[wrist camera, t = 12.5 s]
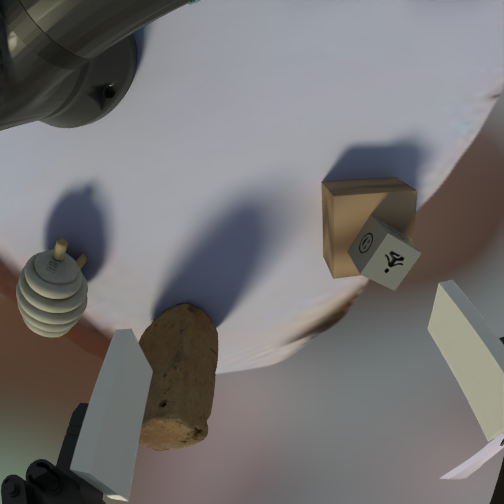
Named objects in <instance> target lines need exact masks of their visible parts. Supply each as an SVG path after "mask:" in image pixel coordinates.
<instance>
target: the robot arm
mask: <svg viewBox="0 0 504 504" xmlns="http://www.w3.org/2000/svg"><path fill="white" fill-rule="evenodd" d="M198 1H200V0H0V131H1V130H4V129H8V128H11V127H15V126H18V125H22V124H26V123H30V122H34V121H41V122H44V123H46V124H49V125H51V126H54V127H59V128H74V127H79V126H83V125H87V124H90V123H93V122H95V121H97V120H99V119H101V118H103V117H104V116H105V115H107V114H108V113H109V112H111V111H112V110H113V109H114V108H115V107H116V106H117V105H118V103H119V102H120V101H121V100H122V98H123V97H124V95H125V94H126V92H127V90H128V89H129V87H130V84H131V82H132V79H133V77H134V73H135V69H136V62H137V49H136V43H135V39H134V36H133V34H132V33H133V32H135V31H137V30H139V29H140V28H142V27H144V26H145V25H147V24H149V23H151V22H153V21H154V20H156V19H158V18H160V17H162V16H164V15H166V14H167V13H169V12H171V11H173V10H175V9H177V8H179V7H181V6H183V5H186V4H190V5H191V4H195V3H197V2H198ZM428 331H429V333H430V334H431V336H432V338H433V339H434V341H435V343H436V344H437V346H438V348H439V349H440V351H441V353H442V355H443V356H444V358H445V360H446V361H447V363H448V365H449V367H450V369H451V370H452V372H453V374H454V376H455V377H456V379H457V381H458V383H459V385H460V386H461V388H462V390H463V392H464V394H465V396H466V398H467V400H468V402H469V404H470V406H471V408H472V410H473V411H474V413H475V416H476V418H477V420H478V422H479V424H480V426H481V428H482V430H483V432H484V434H485V436H486V438H487V441H490V440H492V439H494V438H496V437H497V436H499V435H501V434H503V432H504V337H502V338H498V336H497V335H496V334H495V332H494V331H493V330H492V328H491V327H490V326H489V324H488V323H487V322H486V320H485V319H484V318H483V317H482V315H481V314H480V313H479V312H478V310H477V309H476V308H475V306H474V305H473V304H472V303H471V302H470V300H469V299H468V298H467V297H466V295H465V294H464V293H463V292H462V291H461V289H460V288H459V287H458V286H457V285H456V283H455V282H454V281H453V280H449V281H445V282H440V283H439V284H438V289H437V293H436V298H435V302H434V306H433V310H432V314H431V318H430V322H429V326H428ZM152 373H153V370H152V368H151V366H150V365H149V363H148V361H147V359H146V357H145V355H144V353H143V351H142V349H141V347H140V345H139V343H138V341H137V339H136V337H135V335H134V333H133V331H132V329H122V330H116V331H115V333H114V336H113V338H112V341H111V343H110V346H109V349H108V351H107V354H106V357H105V359H104V362H103V365H102V368H101V370H100V373H99V376H98V379H97V382H96V385H95V388H94V391H93V393H92V396H91V399H90V402H89V404H87V403H80V404H79V405H78V407H77V408H76V410H75V411H74V412H73V414H72V417H71V419H70V422H69V427H68V429H67V432H66V435H65V438H64V441H63V445H62V448H61V451H60V454H59V458H58V461H57V465H56V467H55V466H54V465H53V464H52V463H50V462H49V461H47V460H44V459H39V460H36V461H34V462H33V463H31V464H30V466H29V467H28V469H27V472H26V481H25V480H23V479H22V478H21V477H19V476H17V475H9V476H7V477H6V479H4V481H3V483H2V487H1V495H2V504H106V503H105V502H104V501H103V500H102V498H103V494H105V495H107V496H108V497H110V498H111V499H117V500H124V501H129V498H130V491H131V484H132V478H133V471H134V465H135V460H136V454H137V448H138V443H139V437H140V432H141V426H142V421H143V416H144V411H145V406H146V401H147V397H148V392H149V387H150V382H151V378H152ZM503 445H504V439H503V441H502V442H501V445H500V446H503ZM490 504H504V458H503V462H502V466H501V470H500V473H499V477H498V480H497V483H496V487H495V490H494V493H493V496H492V499H491V502H490Z"/></svg>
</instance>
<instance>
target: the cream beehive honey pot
mask: <svg viewBox="0 0 504 504" xmlns="http://www.w3.org/2000/svg"><path fill="white" fill-rule="evenodd" d="M66 249H67V241H66V240H65V239H63V238H60V239H58V240H57V242H56V245H55V246H54V248H53V249H52V250H48V251H44V252H41V253H38V254H36V255H34V256H32V257H31V258H30V259H29V260H28V262H27V263H26V266H25V267H24V268H23V269H22V271H21V273H20V277H19V281H18V283H17V288H16V294H17V299H18V307H19V310H20V312H21V314H22V316H23V319H24V321H25V323H26V325H27V326H28V327H29V328H30V329H31V330H32V331H34V332H35V333H37V334H39V335H41V336H45V337H58V338H59V337H61V335H64V334H65V333H67V332H68V331H69V330H70V329H71V327H72V326H74V325H75V324H76V323H77V322H78V320H79V319H80V316H81V314H82V313H83V312H84V310H85V309H86V306H87V292H88V285H87V281H86V279H85V277H84V275H83V274H82V272H81V270H80V269H81V268H82V267H83V265H84V264H85V263H86V262H87V257H86V256H85V255H80V256H79V258H78V259H77V260H76V261H75V260H74V259H73V258H72V257H71V256H69V255H68V254H66V253H65V252H66Z"/></svg>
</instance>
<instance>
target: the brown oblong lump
mask: <svg viewBox="0 0 504 504" xmlns="http://www.w3.org/2000/svg"><path fill="white" fill-rule="evenodd" d="M139 345H140V347H141V349H142V351H143V353H144V355H145V357H146V359H147V361H148V363H149V365H150V366H151V368H152V370H153V373H152V378H151V382H150V387H149V392H148V397H147V401H146V406H145V411H144V416H143V421H142V426H141V432H140V437H139V443H141V444H143V445H145V446H147V447H149V448H152V449H154V450H157V451H163V450H169V449H180V448H184V447H187V446H191V445H193V444H196V443H198V442H200V441H202V440H204V438H205V437H206V436H207V434H208V425H207V419H208V418H209V416H210V414H211V409H212V402H213V397H214V387H215V375H216V374H215V371H216V368H217V361H218V333H217V330H216V328H215V326H214V324H213V322H212V321H211V319H210V318H209V317H208V315H207V314H206V313H205V312H204V311H203V310H201V309H197V308H195V307H193V306H191V305H190V304H180V305H177V306H175V307H172V308H170V309H168V310H167V311H165V312H164V313H163V314H161V315H160V317H159V318H158V319H155V320H154V321H153V323H152V324H151V325H150V326H149V327H148V328H147V329H146V330H145V332H144V333H143V335H142V336H141V339H140V341H139Z"/></svg>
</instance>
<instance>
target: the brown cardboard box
mask: <svg viewBox="0 0 504 504" xmlns="http://www.w3.org/2000/svg"><path fill="white" fill-rule="evenodd" d="M321 183H322V212H323V257H324V259H325V261H326V263H327V265H328V268H329V270H330V272H331V274H332V277H333V279H335V278H343V277H350V276H358V275H361V274H360V273H359V271H358V270H357V268H356V266H355V264H354V263H353V261H352V259H351V257H350V256H349V254H348V252H347V251H348V249H349V247H350V246H351V244H352V243H353V241H354V240H355V238H356V237H357V235H358V234H359V232H360V230H361V229H362V227H363V226H364V224H365V222H366V221H367V219H368V218H369V216H370V214H371V215H373V216H374V217H376V218H378V219H380V220H381V221H383V222H385V223H386V224H388V225H390V226H391V227H393V228H395V229H396V230H398V231H400V232H401V233H403V234H404V235H405V236H406V237H407V238H408V239H409V241H410V242H411V243H412V242H413V233H414V223H415V213H416V200H417V190H415V189H414V188H412V187H411V186H409V185H408V184H406V183H404V182H403V181H401V180H400V179H398V178H377V179H359V180H344V181H330V182H321Z"/></svg>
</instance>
